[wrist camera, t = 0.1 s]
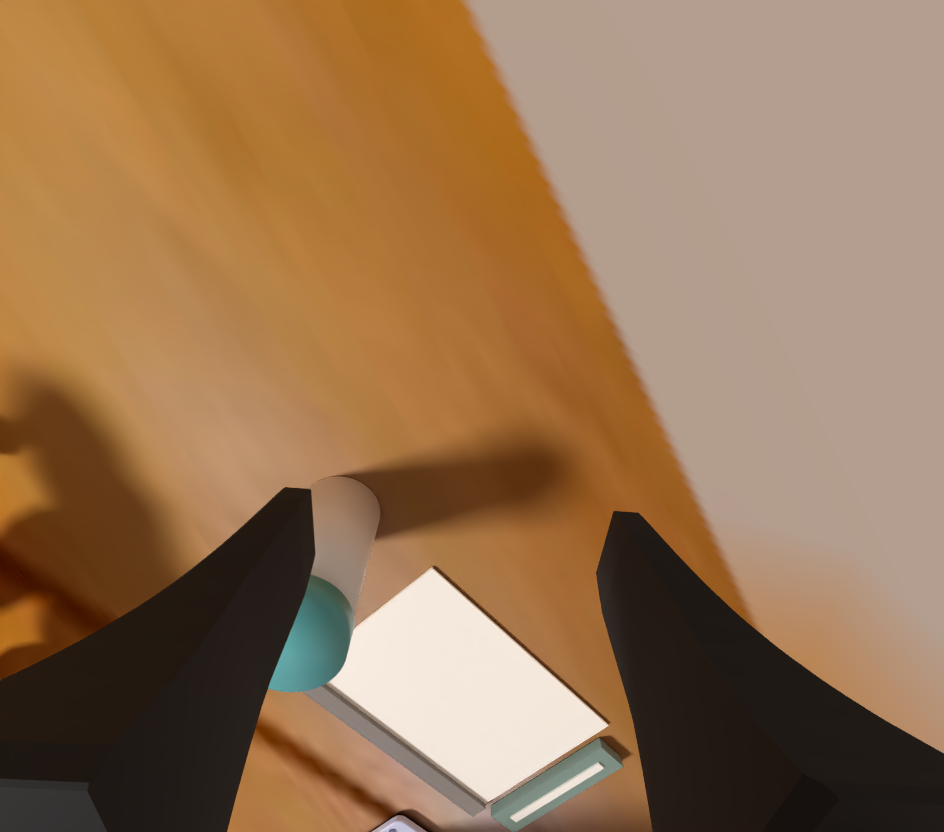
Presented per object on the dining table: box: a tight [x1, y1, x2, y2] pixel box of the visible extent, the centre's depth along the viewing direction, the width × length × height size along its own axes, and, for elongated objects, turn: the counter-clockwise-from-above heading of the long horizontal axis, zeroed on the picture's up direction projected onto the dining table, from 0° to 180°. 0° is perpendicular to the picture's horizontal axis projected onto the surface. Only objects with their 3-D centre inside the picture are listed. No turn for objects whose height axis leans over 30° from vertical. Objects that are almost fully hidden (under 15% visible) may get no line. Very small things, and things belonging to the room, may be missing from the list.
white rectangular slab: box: [301, 567, 608, 817], centre depth 28 cm, size 10×14×1 cm
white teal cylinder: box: [268, 476, 380, 692], centre depth 21 cm, size 4×4×8 cm
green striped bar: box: [491, 738, 623, 832], centre depth 31 cm, size 8×2×1 cm, turn 132°
